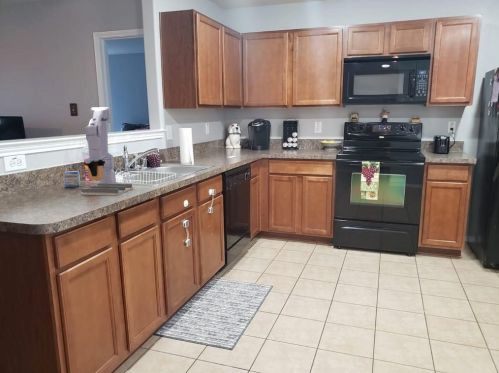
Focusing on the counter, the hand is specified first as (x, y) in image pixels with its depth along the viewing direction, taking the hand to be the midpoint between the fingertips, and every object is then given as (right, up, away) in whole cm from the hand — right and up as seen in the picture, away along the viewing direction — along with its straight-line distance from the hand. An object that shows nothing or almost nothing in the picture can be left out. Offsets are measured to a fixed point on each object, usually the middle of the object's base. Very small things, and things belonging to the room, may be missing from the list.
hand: (97, 175), depth 198 cm
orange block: (0, -2, +1) cm, 2 cm away
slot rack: (+4, -8, +4) cm, 10 cm away
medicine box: (-22, -6, +21) cm, 31 cm away
